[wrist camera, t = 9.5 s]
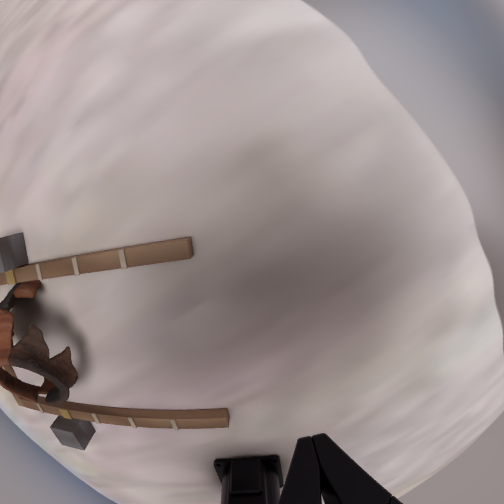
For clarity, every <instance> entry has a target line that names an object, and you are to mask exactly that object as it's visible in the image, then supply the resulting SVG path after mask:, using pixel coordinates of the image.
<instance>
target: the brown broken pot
mask: <svg viewBox="0 0 504 504" xmlns="http://www.w3.org/2000/svg"><path fill="white" fill-rule="evenodd" d="M40 285H41V282H40V281H39V280H33V281H26V282H19V283H17V284H15V285H14V287H13V288H12V289H11V290H10V291H9V293H8V295H7V296H6V297H5V299H4V300H3V301H2V302H1V303H0V385H1V386H2V387H3V388H5V389H6V390H8V391H10V392H11V393H13V394H15V395H17V396H19V397H21V398H24V399H26V400H29V401H33V402H37V399H38V394H47V396H46V399H45V402H46V403H47V404H60V403H63V402H65V401H66V400H68V398H69V388H71V387H72V386H73V385H74V384H75V383H76V381H77V379H78V376H77V371H76V369H75V368H74V366H73V364H72V361H71V351H70V347H66V349H65V350H64V351H63V352H61V353H60V354H58V355H56V356H54V357H52V358H50V359H49V349H48V346H47V344H46V343H45V341H44V338H43V334H42V332H41V330H40V329H39V328H38V327H36V326H35V325H34V324H31V325H30V327H29V330H28V333H27V334H26V335H25V336H24V337H22V339H21V340H20V341H19V342H18V343H17V344H16V345H15V346H13V340H12V337H13V335H14V332H13V328H14V321H13V314H12V313H11V312H10V311H9V310H10V309H11V308H13V307H14V305H15V302H14V299H15V298H20V297H22V298H23V297H25V298H34V297H35V294H36V290H37V289H38V288H39V287H40ZM11 365H12V366H16V367H20V368H24V369H27V370H30V371H32V372H35V373H37V374H39V375H41V376H43V377H44V383H43V384H42V386H41V387H40V386H35V385H31V384H28V383H25V382H22V381H21V380H19V379H18V378H16V377H14V376H12V375H11V374H10V373H8V372H7V371H6V370H4V369H3V368H2V367H3V366H11Z"/></svg>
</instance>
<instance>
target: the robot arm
mask: <svg viewBox="0 0 504 504" xmlns="http://www.w3.org/2000/svg"><path fill="white" fill-rule="evenodd" d="M214 467H215V470H216V472H217V474H218V476H219V479H220V481H221V483H222V494H221V504H322V499H321V494H322V497H323V500H324V502H325V504H403V503H401V502H400V501H399V500H398V499H397V498H396V497H394V496H392V494H391V493H389V492H388V491H387V490H386V489H385V488H384V487H382V486H381V485H380V484H379V483H378V482H377V481H376V480H374V479H373V478H372V477H371V476H370V475H369V474H368V473H367V472H365V471H364V470H363V469H362V468H361V467H360V466H359V465H358V464H357V463H356V462H355V461H354V460H352V459H351V458H350V457H349V456H348V455H347V454H346V453H345V452H344V451H343V450H342V449H341V448H340V447H339V446H338V445H337V444H336V443H335V442H334V441H333V440H332V439H331V438H330V437H329V436H328V435H326V434H325V433H321V434H316V435H313V436H312V437H311V436H307V437H302V438H299V439H298V440H297V444H296V447H295V451H294V454H293V458H292V461H291V464H290V468H289V471H288V474H287V477H286V481H285V484H284V485H283V477H282V470H281V463H280V457H279V456H267V457H257V458H244V459H227V460H215V461H214ZM283 486H284V487H283ZM282 487H283V490H282V493H281V495H280V488H282Z"/></svg>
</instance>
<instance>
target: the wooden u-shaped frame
mask: <svg viewBox="0 0 504 504" xmlns="http://www.w3.org/2000/svg"><path fill="white" fill-rule="evenodd" d="M193 255H194V254H193V249H192V243H191V237H186V238H179V239H173V240H166V241H160V242H153V243H147V244H141V245H135V246H129V247H122V248H116V249H111V250H105V251H99V252H93V253H87V254H82V255H76V256H70V257H65V258H59V259H54V260H49V261H43V262H38V263H33V264H27V263H28V258H27V253H26V248H25V243H24V237H23V233H20V234H15V235H11V236H7V237H3V238H0V285H4V284H8V285H9V284H16V283H19V282H26V281H33V280H43V279H47V278H54V277H62V276H69V275H80V274H83V273H90V272H98V271H105V270H112V269H119V268H122V269H125V268H128V267H134V266H141V265H148V264H155V263H163V262H170V261H177V260H185V259H190V258H191V257H192V256H193ZM25 264H27V265H25ZM2 368H3V369H4V370H6V371H7V372H8V373H10V374H11V375H12V376H14V377H16V375H15V373H14V371H13V369H12V366H3V367H2ZM16 378H17V377H16ZM12 394H13V393H12ZM13 396H14V398H15V400H16V401H17V403H18V405H20V406H23V407H27V408H30V409H34V410H38V411H41V413H44V412H46V413H50V414H55V415H59V416H58V417H57V418H56V420H55V421H54V422H53V424H52V425H51V426H50V428H51V429H52V431H53V432H54V434H55V435H56V437H57V438H58V440H59V441H60V443H61V444H62V445H65V446H69V447H73V448H77V449H81V450H85V449H86V447H87V445H88V443H89V441H90V440H91V438H92V436H93V434H94V433H95V429H94V428H93V426H92V424H91V423H90V421H92V422H96V423H97V424H100V423H106V424H114V425H123V426H132V427H133V428H137V427H149V428H173V429H174V430H179V429H199V428H225V427H229V414H228V411H227V408H223V409H205V410H144V409H126V408H113V407H103V406H94V405H86V404H79V403H72V402H66V401H65V402H63V403H60V404H47V403H46V402H45V399H46V398H44V397H39V396H38V399H37V402H33V401H29V400H26V399H24V398H21V397H19V396H17V395H15V394H13Z"/></svg>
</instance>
